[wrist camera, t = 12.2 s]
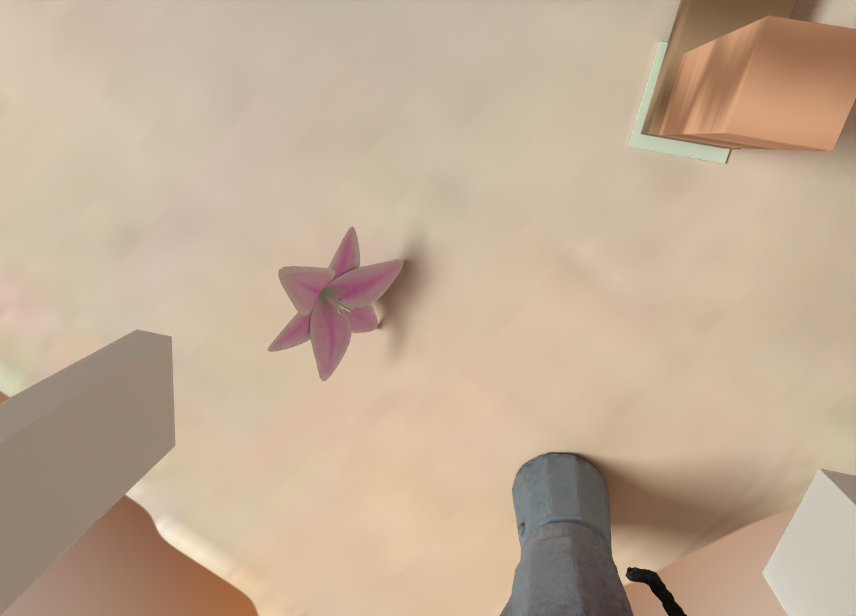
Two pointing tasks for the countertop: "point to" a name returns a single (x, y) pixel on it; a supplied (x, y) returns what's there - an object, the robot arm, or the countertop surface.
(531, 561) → the moka pot
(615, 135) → the countertop surface
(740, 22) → the wooden pillar on base
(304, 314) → the lily
